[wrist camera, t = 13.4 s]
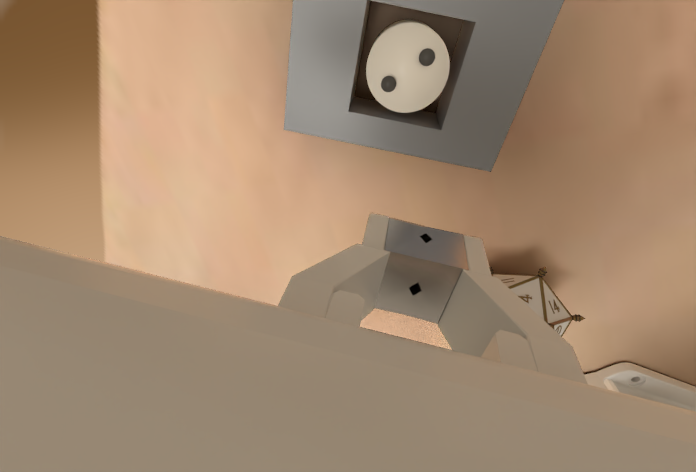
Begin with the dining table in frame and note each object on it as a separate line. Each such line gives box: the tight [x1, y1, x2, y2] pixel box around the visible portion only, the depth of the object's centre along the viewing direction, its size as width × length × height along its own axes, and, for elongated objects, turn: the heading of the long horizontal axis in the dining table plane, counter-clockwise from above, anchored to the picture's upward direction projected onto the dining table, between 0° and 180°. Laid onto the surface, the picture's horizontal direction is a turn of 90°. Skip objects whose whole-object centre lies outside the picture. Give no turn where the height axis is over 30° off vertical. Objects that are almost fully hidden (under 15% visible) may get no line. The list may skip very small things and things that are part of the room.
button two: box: [366, 19, 450, 113], centre depth 23 cm, size 5×5×4 cm
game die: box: [490, 267, 585, 337], centre depth 31 cm, size 9×8×10 cm
